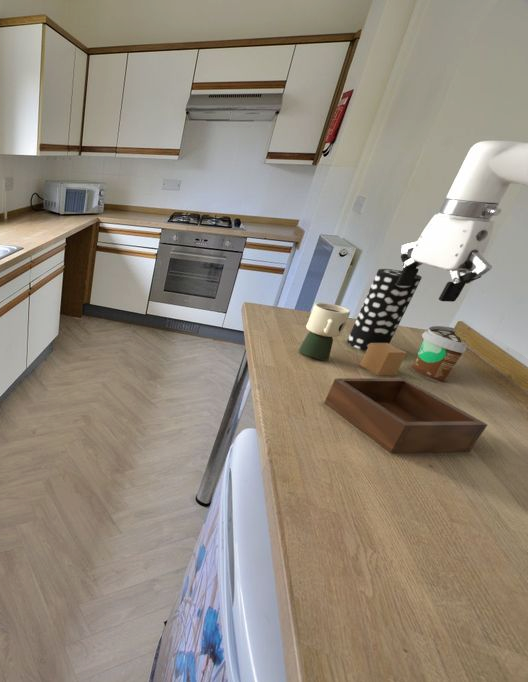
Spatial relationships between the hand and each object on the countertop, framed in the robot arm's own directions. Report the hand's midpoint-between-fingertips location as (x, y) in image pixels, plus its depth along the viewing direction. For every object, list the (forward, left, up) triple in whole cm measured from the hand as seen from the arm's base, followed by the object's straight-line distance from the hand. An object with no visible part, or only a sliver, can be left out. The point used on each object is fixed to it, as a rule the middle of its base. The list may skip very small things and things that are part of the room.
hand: (423, 292), depth 88 cm
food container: (-11, -1, -20) cm, 23 cm away
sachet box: (+1, -1, -20) cm, 20 cm away
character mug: (+12, -8, -20) cm, 24 cm away
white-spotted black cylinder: (-8, -14, -20) cm, 25 cm away
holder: (+18, +20, -20) cm, 33 cm away
